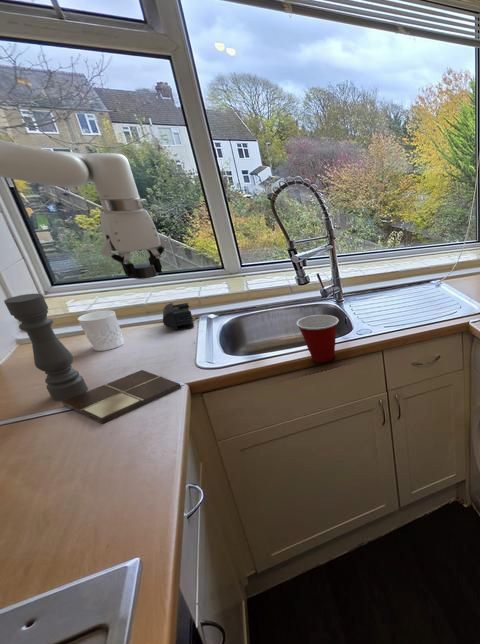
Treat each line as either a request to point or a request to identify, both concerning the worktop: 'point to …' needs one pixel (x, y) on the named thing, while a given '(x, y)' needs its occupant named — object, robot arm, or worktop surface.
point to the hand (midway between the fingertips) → (145, 274)
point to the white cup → (102, 329)
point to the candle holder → (47, 346)
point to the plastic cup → (319, 336)
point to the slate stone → (145, 270)
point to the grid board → (121, 396)
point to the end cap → (177, 316)
